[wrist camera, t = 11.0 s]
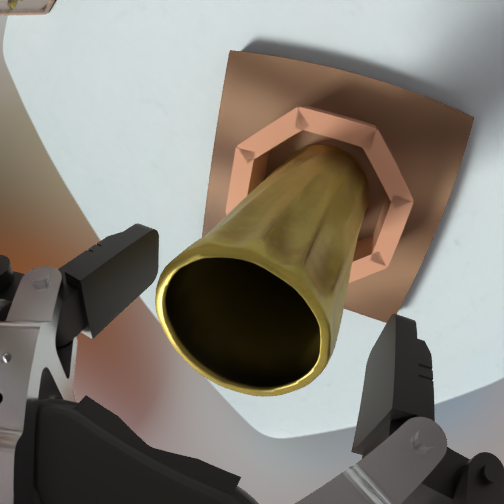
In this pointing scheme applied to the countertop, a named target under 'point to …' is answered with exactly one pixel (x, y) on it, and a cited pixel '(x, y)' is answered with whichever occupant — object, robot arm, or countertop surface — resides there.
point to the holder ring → (344, 129)
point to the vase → (270, 277)
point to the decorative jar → (25, 7)
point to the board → (361, 108)
